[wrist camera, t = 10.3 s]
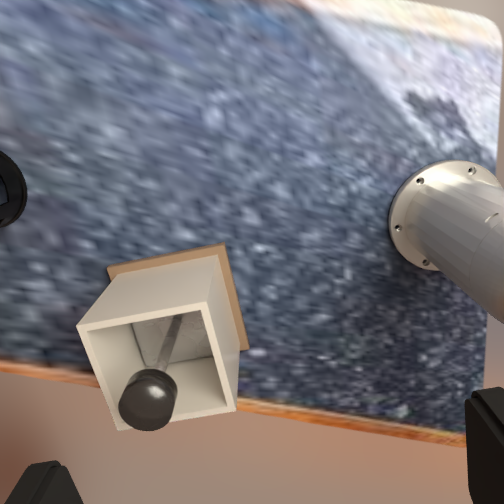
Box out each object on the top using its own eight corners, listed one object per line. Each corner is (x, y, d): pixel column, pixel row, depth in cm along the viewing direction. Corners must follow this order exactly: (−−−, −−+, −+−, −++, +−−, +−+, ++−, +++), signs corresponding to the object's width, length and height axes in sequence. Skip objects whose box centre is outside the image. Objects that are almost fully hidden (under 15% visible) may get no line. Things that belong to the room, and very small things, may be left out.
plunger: (208, 273, 46) (188, 347, 32) (228, 348, 49) (218, 446, 35) (123, 289, 46) (66, 369, 32) (148, 363, 49) (107, 464, 35)
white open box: (224, 242, 48) (214, 288, 36) (250, 347, 53) (249, 420, 40) (109, 265, 49) (61, 318, 37) (144, 366, 54) (112, 443, 41)
